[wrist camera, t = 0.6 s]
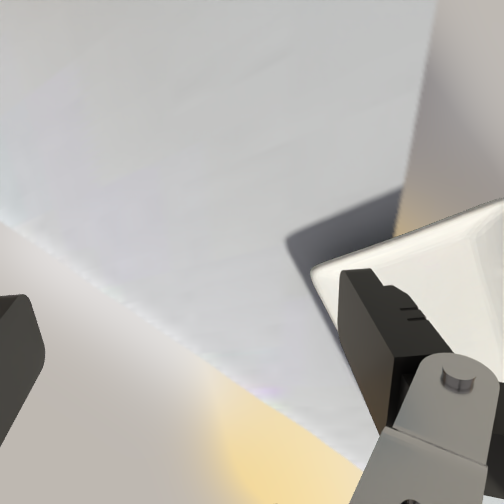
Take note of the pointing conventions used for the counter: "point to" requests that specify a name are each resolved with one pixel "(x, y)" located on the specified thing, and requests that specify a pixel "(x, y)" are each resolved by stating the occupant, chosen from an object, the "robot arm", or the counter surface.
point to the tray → (441, 278)
